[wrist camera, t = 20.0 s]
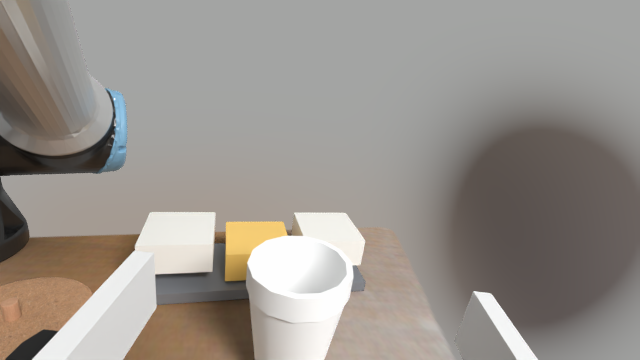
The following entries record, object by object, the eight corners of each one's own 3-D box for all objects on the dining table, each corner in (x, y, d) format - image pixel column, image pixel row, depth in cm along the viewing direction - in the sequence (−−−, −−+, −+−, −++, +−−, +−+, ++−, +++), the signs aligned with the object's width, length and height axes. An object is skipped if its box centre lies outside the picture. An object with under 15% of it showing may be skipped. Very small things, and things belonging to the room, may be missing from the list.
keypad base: (129, 306, 39) (128, 296, 38) (149, 253, 49) (148, 245, 48) (363, 290, 47) (365, 281, 47) (340, 248, 57) (341, 240, 57)
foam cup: (238, 420, 29) (246, 300, 24) (241, 335, 37) (247, 235, 33) (342, 409, 31) (368, 297, 26) (323, 331, 39) (339, 236, 35)
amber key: (224, 281, 42) (225, 254, 41) (225, 245, 50) (226, 221, 48) (289, 277, 45) (293, 252, 43) (280, 243, 52) (283, 221, 51)
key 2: (136, 275, 39) (134, 246, 37) (151, 237, 46) (150, 212, 45) (212, 271, 41) (213, 244, 40) (214, 236, 49) (215, 212, 47)
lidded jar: (111, 406, 28) (100, 320, 25) (-79, 493, 22) (-127, 393, 18) (96, 323, 36) (86, 250, 33) (-48, 370, 29) (-79, 283, 26)
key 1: (302, 267, 45) (305, 242, 43) (291, 235, 52) (294, 212, 51) (360, 265, 47) (365, 240, 46) (341, 234, 55) (345, 212, 53)
